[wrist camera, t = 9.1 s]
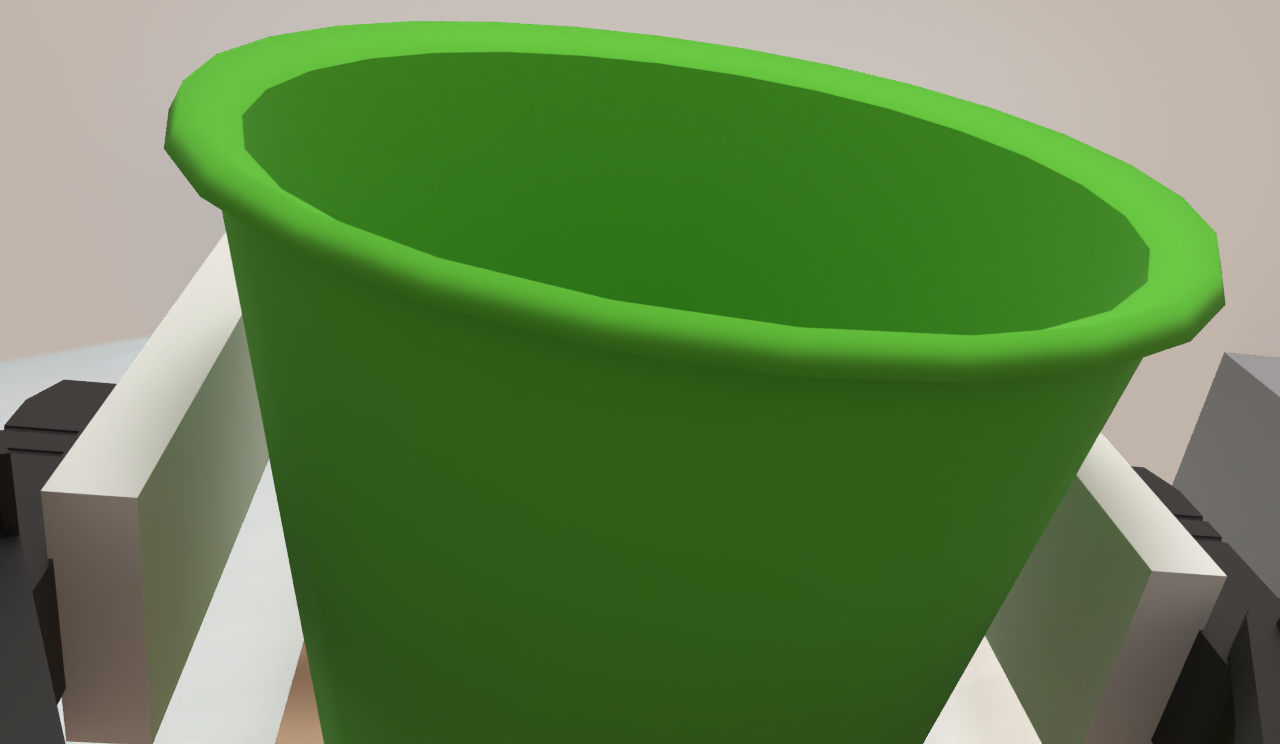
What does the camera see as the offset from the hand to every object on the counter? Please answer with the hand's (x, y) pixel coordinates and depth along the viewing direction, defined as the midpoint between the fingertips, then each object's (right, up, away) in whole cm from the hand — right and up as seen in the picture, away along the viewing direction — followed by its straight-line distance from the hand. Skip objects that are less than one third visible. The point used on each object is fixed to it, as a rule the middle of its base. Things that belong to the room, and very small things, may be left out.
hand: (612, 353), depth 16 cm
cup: (-1, -8, -1) cm, 8 cm away
